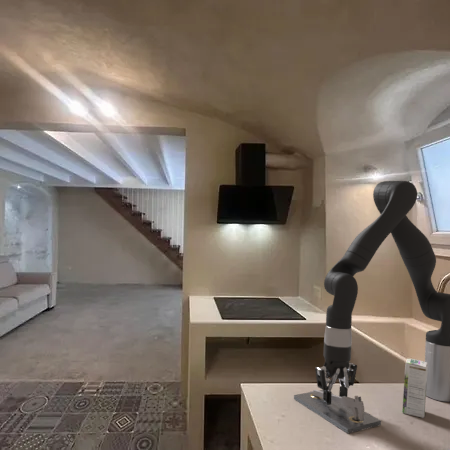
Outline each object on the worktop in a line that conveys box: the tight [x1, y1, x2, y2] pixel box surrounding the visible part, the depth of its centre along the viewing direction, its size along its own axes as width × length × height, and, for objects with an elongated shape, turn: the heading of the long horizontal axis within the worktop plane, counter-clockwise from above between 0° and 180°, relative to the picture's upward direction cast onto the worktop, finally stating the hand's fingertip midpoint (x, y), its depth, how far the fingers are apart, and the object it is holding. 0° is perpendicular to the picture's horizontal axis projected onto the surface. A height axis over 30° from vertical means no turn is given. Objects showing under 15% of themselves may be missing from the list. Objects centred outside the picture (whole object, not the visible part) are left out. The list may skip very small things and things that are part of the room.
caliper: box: [309, 389, 365, 421], centre depth 112 cm, size 20×1×6 cm, turn 28°
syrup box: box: [402, 358, 428, 419], centre depth 114 cm, size 6×6×14 cm
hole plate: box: [293, 389, 382, 434], centre depth 112 cm, size 12×22×1 cm, turn 27°
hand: (335, 401), depth 112 cm, fingers open, 5 cm apart
